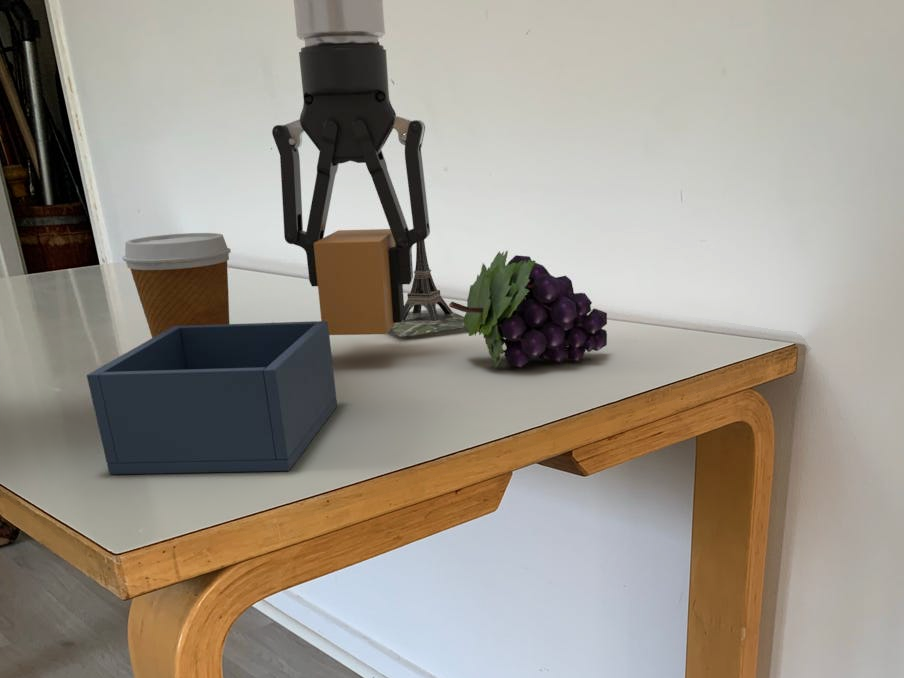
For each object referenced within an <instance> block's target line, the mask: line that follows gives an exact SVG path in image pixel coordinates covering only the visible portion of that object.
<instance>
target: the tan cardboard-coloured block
mask: <svg viewBox="0 0 904 678" xmlns="http://www.w3.org/2000/svg"><path fill="white" fill-rule="evenodd" d="M395 244H396V243H395V241H394V238H393V235H392V232H391V230H390V228H379V229H378V228H377V229H376V228H375V229H373V228H371V229H338V230H336V231H334V232H332V233H330V234H328V235H326V236H324V237H323V238H322V239H320V240H319V241H317V242H315V243H314V253H315V263H316V273H317V282H318V286H317V291H318V301H319V310H320V321H327V322H328V328H329V336H355V335H356V336H361V335H362V336H363V335H364V336H365V335H366V336H367V335H387V334H388V333H389V332H390V331H391V330H390V329H391V328H392V327H393V325H394V324H395V323H393V310H392V296H391V282H390V267H389V253H388V250H389V249H391V248H392V247H395Z"/></svg>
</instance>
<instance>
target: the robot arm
mask: <svg viewBox="0 0 904 678" xmlns="http://www.w3.org/2000/svg"><path fill="white" fill-rule="evenodd" d="M293 7H294V17H295V18H294V19H295V29H296V37H297V38H298V40H300V41H304V46H303V47H301V48H300V51H299V52H298V56H299V57H298V58H299V67H300V77H301V86H302V87H301V88H302V97H303V105H302V109H301V112H300V116H299V119H296V120H294V121H291V122H289V123H286V124H277V125H274V126H273V128H272V131H271V134H272V137H273V140H274V143H275V145H276V149H277V151H278V154H279V161H280V181H281V197H282V198H281V199H282V215H283V216H282V217H283V218H282V220H283V235H284V240H285V242H286V243H287V244H289V245H294V246H298V247H300V248H302V249H303V251H305V254H306V262H307V271H308V272H307V273H308V281H309V283H310V285H311V287H318V282H317V273H316V263H315V253H314V243H315V242H317V241H319V240H320V239H322V238H324V237H325V231H326V227H327V221H328V216H329V211H330V206H331V199H332V195H333V191H334V190H333V189H334V185H335V179H336V174H337V172H338V169H339V165H341V164H345V163H349V162H353V163H358V164H365V167H366V169H367V171H368V173H369V175H370V177H371V179H372V182H373V185H374V188H375V190H376V193H377V197H378V199H379V202H380V204H381V207H382V210H383V213H384V216H385V218H386V221H387V224H388V226H389V229H390V230H391V232H392V235H393V238H394V241H395V243H396V244H395V247H392V248H391V249H389V250H388V253H389V267H390V282H391V296H392V310H393V323H401V322H402V320H403V319H404V318H405V313H404V306H405V302H404V301H405V300H404V286H403V285H410V284H411V283H413V280H414V268H413V251H412V249H413V246H414V245H415V244H416V243H417V242H420V241H422V240H424V241H425V240H426V239H427V238H428V237H429V236H430V234H431V227H430V218H429V210H428V202H427V201H428V199H427V191H426V181H425V173H424V165H423V164H424V163H423V155H422V154H423V153H422V148H423V147H422V146H423V142H424V136H425V132H426V125H425V122H424V121H422V120H418V119H414V120H412V119H409V118H406V117H401V116H398V115H397V113H396V111H395V109H394V108H393V105H392V103H391V100H390V94H389V93H390V91H389V76H388V59H387V49H384V46H383V45H382V44H380V41H379V39H382V38H383V37H384V35H385V34H386V28H385V15H384V13H385V12H384V1H383V0H293ZM393 130H395V131H396V132H397V137H398V142H399V143H400V144H401V145H402V146H404V161H405V170H406V178H407V187H408V195H409V203H410V213H411V219H412V228H411V229H409V227H408V224H407V220H406V218H405V216H404V212H403V209H402V207H401V204H400V201H399V198H398V195H397V193H396V190H395V187H394V184H393V181H392V179H391V175H390V173H389V170H388V166H387V162H386V159H385V156H384V154H383V148H384V146H385V144H386V142H387V140H388V139H389V137H390V135H391V133H392V131H393ZM304 133H305V134H306V135H307V137H308V138H309V139H310V141H311V142H312V143H313V145H314V146H315V147H316V149H317V150H318V151H319V152H318V153H319V154H318V159H317V164H316V177H315V182H314V187H313V194H312V197H311V204H310V208H309V209H310V210H309V214H308V221H307V226H306V231H305V230H304V224H303V223H304V222H303V203H302V201H303V199H302V184H301V183H302V182H301V181H302V180H301V160H300V152H299V149H300V148H301V147H302V145H303V134H304Z"/></svg>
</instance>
